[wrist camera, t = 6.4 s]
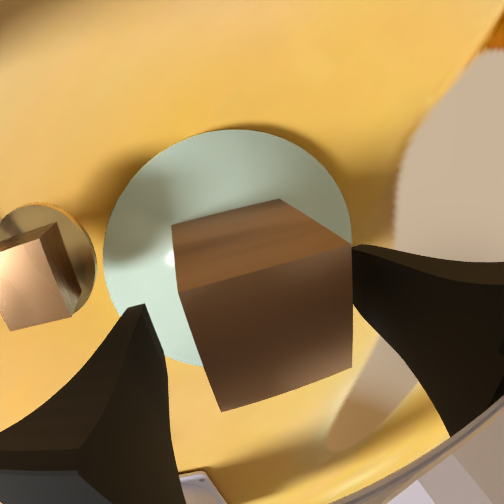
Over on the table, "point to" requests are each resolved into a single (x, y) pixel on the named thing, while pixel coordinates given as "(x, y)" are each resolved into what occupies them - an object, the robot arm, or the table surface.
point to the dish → (203, 204)
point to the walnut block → (264, 299)
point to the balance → (43, 265)
